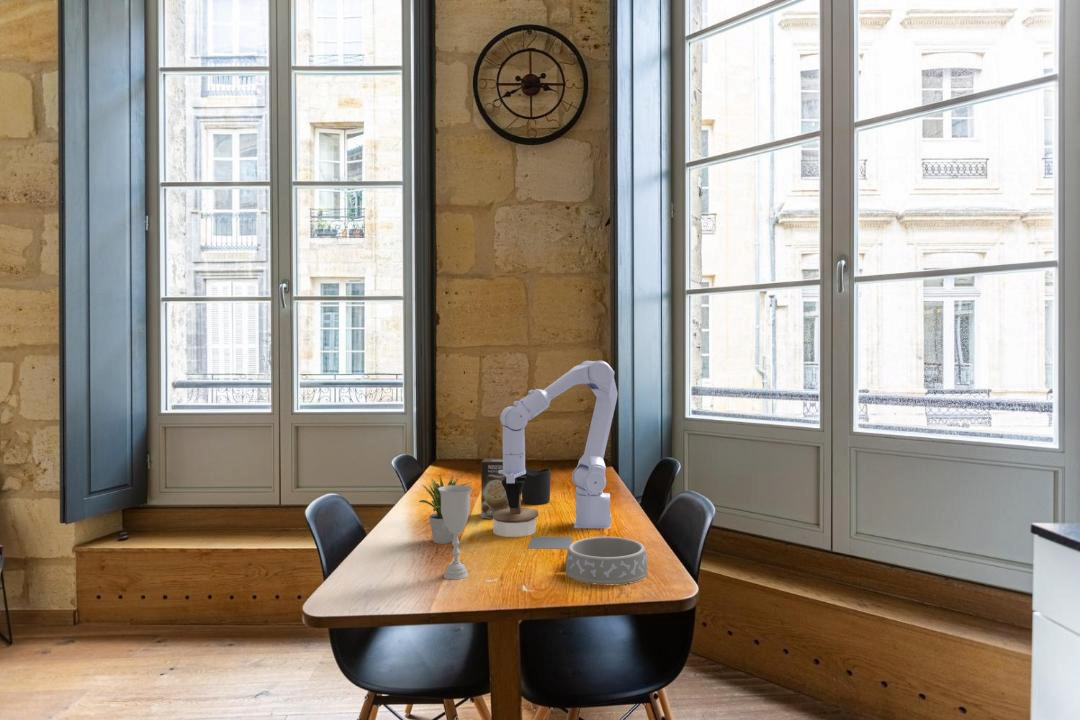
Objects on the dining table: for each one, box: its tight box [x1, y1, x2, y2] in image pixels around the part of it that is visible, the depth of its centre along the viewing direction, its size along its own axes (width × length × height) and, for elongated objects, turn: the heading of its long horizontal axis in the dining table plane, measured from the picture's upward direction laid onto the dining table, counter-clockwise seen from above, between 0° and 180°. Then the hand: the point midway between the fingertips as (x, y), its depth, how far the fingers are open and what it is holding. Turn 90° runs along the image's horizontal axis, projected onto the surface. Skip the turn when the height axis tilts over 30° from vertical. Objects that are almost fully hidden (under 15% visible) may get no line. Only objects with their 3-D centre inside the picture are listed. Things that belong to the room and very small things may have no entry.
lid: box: [492, 493, 539, 522], centre depth 167 cm, size 12×12×5 cm
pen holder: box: [521, 467, 552, 506], centre depth 204 cm, size 9×9×10 cm
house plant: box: [417, 474, 472, 545], centre depth 159 cm, size 14×14×16 cm
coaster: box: [527, 536, 573, 550], centre depth 156 cm, size 10×10×1 cm
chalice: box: [439, 484, 473, 580], centre depth 135 cm, size 7×7×18 cm
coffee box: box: [480, 457, 509, 519], centre depth 185 cm, size 9×6×16 cm
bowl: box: [492, 517, 537, 538], centre depth 167 cm, size 11×11×4 cm
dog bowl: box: [565, 536, 649, 585], centre depth 137 cm, size 17×18×5 cm
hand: (514, 506), depth 167 cm, fingers closed on lid, 2 cm apart
